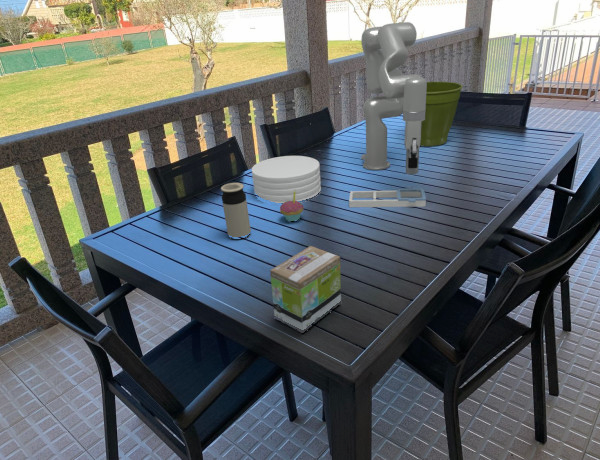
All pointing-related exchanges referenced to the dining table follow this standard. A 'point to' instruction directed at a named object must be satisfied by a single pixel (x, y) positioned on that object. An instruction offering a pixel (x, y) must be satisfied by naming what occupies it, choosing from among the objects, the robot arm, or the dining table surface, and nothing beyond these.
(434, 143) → the plant pot
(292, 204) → the cupcake
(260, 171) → the plate stack
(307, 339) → the dining table surface
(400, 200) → the white ladder frame
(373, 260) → the dining table surface
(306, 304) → the tea box
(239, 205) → the travel mug
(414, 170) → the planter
